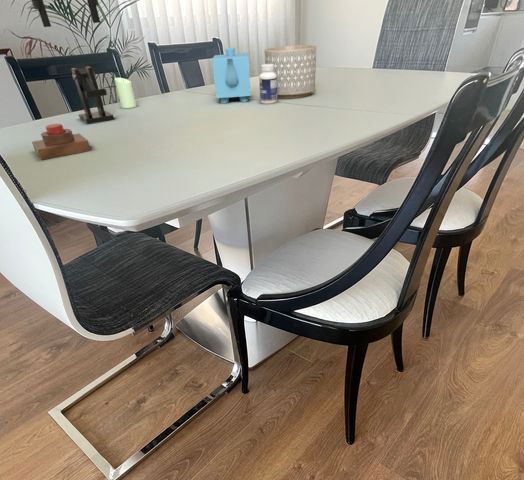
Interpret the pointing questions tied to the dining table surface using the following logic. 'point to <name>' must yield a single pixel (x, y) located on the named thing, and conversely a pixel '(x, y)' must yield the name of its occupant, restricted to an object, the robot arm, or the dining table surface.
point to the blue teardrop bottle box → (231, 75)
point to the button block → (60, 144)
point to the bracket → (88, 116)
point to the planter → (293, 69)
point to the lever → (90, 85)
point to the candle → (125, 93)
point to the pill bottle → (268, 84)
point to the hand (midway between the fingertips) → (73, 24)
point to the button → (54, 129)
